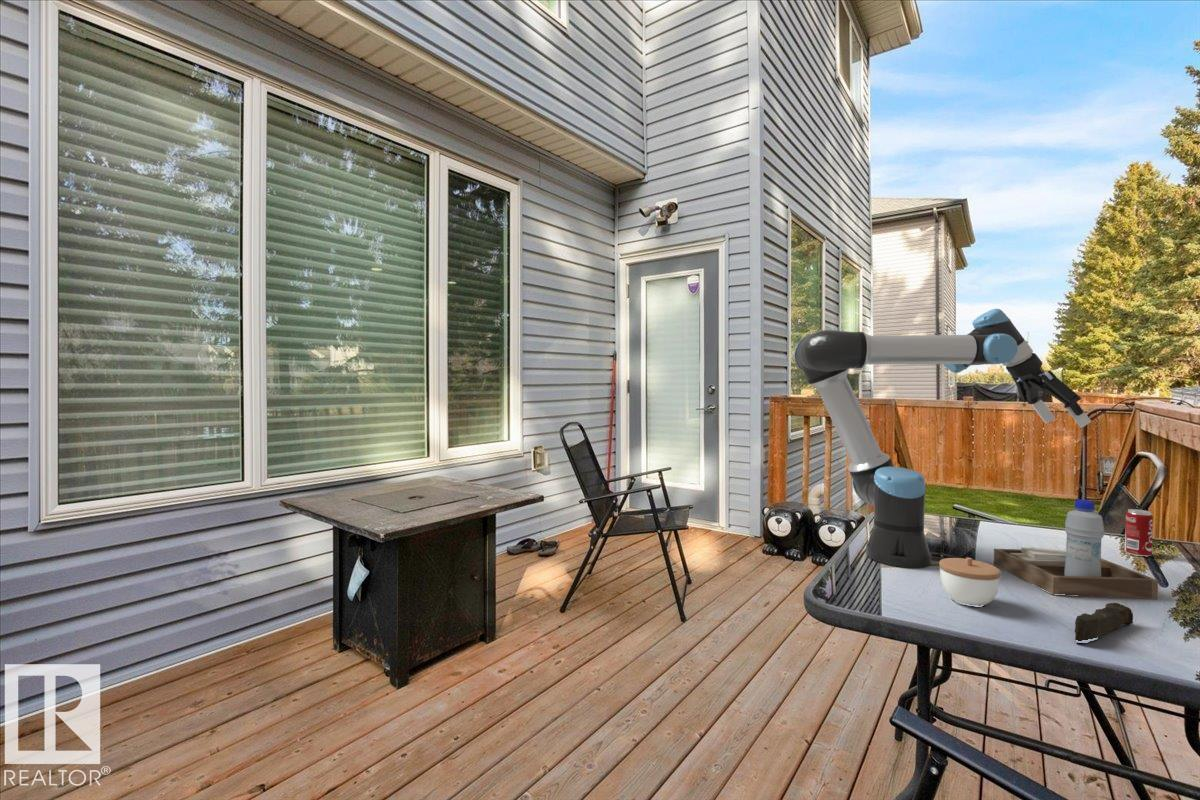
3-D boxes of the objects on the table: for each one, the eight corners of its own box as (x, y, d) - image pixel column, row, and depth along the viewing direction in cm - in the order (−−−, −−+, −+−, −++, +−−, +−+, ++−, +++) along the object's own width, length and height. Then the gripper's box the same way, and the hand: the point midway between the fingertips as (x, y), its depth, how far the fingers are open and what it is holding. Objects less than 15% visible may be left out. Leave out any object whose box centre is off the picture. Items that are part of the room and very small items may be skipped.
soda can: (1139, 552, 148) (1141, 508, 148) (1157, 558, 143) (1159, 513, 143) (1119, 551, 149) (1120, 508, 149) (1136, 557, 144) (1137, 512, 143)
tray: (993, 564, 138) (994, 548, 138) (1082, 566, 137) (1082, 551, 136) (1052, 595, 118) (1053, 577, 118) (1157, 598, 117) (1158, 580, 116)
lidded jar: (998, 599, 116) (999, 556, 116) (1000, 617, 107) (1002, 570, 107) (939, 588, 122) (940, 547, 122) (937, 604, 113) (938, 560, 113)
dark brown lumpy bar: (1106, 619, 107) (1107, 596, 107) (1133, 627, 104) (1134, 603, 103) (1057, 639, 99) (1058, 614, 99) (1084, 649, 95) (1085, 623, 95)
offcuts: (1006, 562, 137) (1007, 546, 137) (1079, 564, 135) (1079, 548, 135) (1026, 572, 130) (1026, 555, 130) (1102, 574, 128) (1103, 557, 128)
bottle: (1056, 583, 125) (1059, 498, 124) (1072, 579, 128) (1075, 495, 127) (1092, 594, 119) (1095, 504, 118) (1108, 589, 122) (1111, 501, 121)
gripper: (1063, 348, 136) (1116, 417, 135) (1004, 354, 161) (1049, 412, 159) (1036, 365, 137) (1088, 434, 136) (982, 368, 162) (1025, 426, 160)
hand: (1067, 422), depth 148 cm, fingers open, 13 cm apart
